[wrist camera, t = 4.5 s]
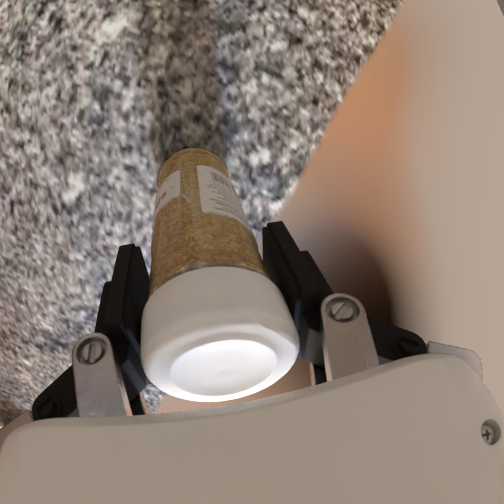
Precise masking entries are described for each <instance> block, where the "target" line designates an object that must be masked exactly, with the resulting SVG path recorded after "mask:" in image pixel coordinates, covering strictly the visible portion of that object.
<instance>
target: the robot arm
mask: <svg viewBox="0 0 504 504" xmlns="http://www.w3.org/2000/svg"><path fill="white" fill-rule="evenodd" d="M262 236H263V264H264V266H265V268H266V270H267V273H268V275H269V278H270V280H271V281H272V282H273V283H274V284H275V285H276V286H277V287H278V288H279V290H280V291H281V293H282V295H283V296H284V299H285V301H286V304H287V306H288V308H289V311H290V313H291V316H292V319H293V321H294V324H295V327H296V330H297V333H298V336H299V341H300V347H299V352H298V356H297V358H296V359H300V358H303V360H305V361H307V362H310V373H311V383H312V386H311V387H307V388H303V389H299V390H295V391H291V392H287V393H283V394H279V395H274V396H270V397H265V398H260V399H256V400H251V401H246V402H240V403H235V404H229V405H223V406H217V407H210V408H204V409H197V410H188V411H180V412H172V413H161V414H149V412H148V409H147V406H146V402H145V399H144V396H143V393H142V390H143V389H144V388H145V387H146V385H147V384H153V383H152V382H151V381H150V380H149V379H148V377H147V376H146V374H145V372H144V370H143V367H142V362H141V320H142V314H143V310H144V307H145V305H146V303H147V302H148V298H149V291H150V278H149V275H148V272H147V268H146V265H145V262H144V259H143V255H142V252H141V249H140V247H139V246H138V247H135V245H134V244H128V245H122V246H120V247H119V250H118V254H117V258H116V263H115V267H114V271H113V276H112V281H109V282H106V283H105V284H104V287H103V292H102V296H101V301H100V306H99V311H98V316H97V321H96V327H95V332H94V333H91V334H88V335H85V336H83V337H82V338H81V339H79V340H78V341H77V343H76V344H75V346H74V348H73V350H72V364H73V365H71V366H70V367H69V368H68V369H67V370H66V371H65V372H64V373H63V374H61V375H60V376H59V377H58V378H57V379H56V380H55V381H54V382H53V383H52V384H51V385H49V386H48V387H47V388H46V389H45V390H44V391H43V392H42V393H41V394H40V395H39V396H38V397H37V398H36V399H35V401H34V403H33V406H32V411H31V412H29V411H28V410H26V411H25V412H24V413H22V414H21V415H19V416H18V417H17V418H15V419H14V420H12V421H11V422H10V423H8V424H7V425H5V426H4V427H3V428H1V429H0V504H504V415H503V413H502V411H501V410H500V408H499V406H498V404H497V403H496V401H495V399H494V398H493V396H492V394H491V393H490V391H489V390H488V388H487V387H486V385H485V384H484V382H483V375H482V363H481V359H480V358H479V356H478V355H477V354H476V353H475V352H474V351H472V350H469V349H465V348H460V347H455V346H451V345H445V344H441V343H436V342H432V341H429V342H428V344H426V343H424V341H423V340H422V338H420V337H419V336H418V335H417V334H415V333H413V332H410V331H408V330H405V329H402V328H399V327H397V326H394V325H391V324H388V323H385V322H383V321H380V320H377V319H374V318H371V317H369V316H366V314H365V310H364V307H363V305H362V303H361V302H360V301H359V300H358V299H357V298H355V297H353V296H352V295H348V294H344V293H336V294H334V293H333V292H332V290H331V288H330V286H329V285H328V283H327V281H326V280H325V278H324V276H323V275H322V273H321V271H320V270H319V268H318V266H317V265H316V263H315V262H314V260H313V258H312V257H311V255H310V254H309V252H308V251H300V250H299V249H298V247H297V245H296V243H295V242H294V240H293V238H292V237H291V235H290V233H289V232H288V230H287V228H286V227H285V225H284V223H283V222H282V221H278V222H271V223H268V224H267V227H263V229H262Z"/></svg>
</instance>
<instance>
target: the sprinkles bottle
mask: <svg viewBox="0 0 504 504" xmlns="http://www.w3.org/2000/svg"><path fill="white" fill-rule="evenodd" d="M157 186H158V193H157V196H156V203H155V213H154V222H153V232H152V242H151V258H152V260H151V272H150V291H149V298H148V302H147V303H146V305H145V307H144V310H143V314H142V320H141V362H142V367H143V370H144V372H145V374H146V376H147V377H148V379H149V380H150V381H151V382H152V383H153V384H154V385H155V386H156V387H158V388H159V389H160V390H162V391H164V392H166V393H168V394H170V395H172V396H175V397H179V398H182V399H186V400H192V401H203V402H215V401H225V400H231V399H236V398H240V397H244V396H247V395H250V394H253V393H255V392H258V391H260V390H262V389H264V388H266V387H268V386H270V385H271V384H273V383H274V382H276V381H277V380H279V379H280V378H281V377H282V376H283V375H285V374H286V373H287V371H288V370H289V369H290V368H291V367H292V365H293V363H294V362H295V360H296V358H297V356H298V352H299V347H300V341H299V336H298V333H297V330H296V327H295V324H294V321H293V319H292V316H291V313H290V311H289V308H288V306H287V304H286V301H285V299H284V296H283V295H282V293H281V291H280V290H279V288H278V287H277V286H276V285H275V284H274V283H273V282H272V281H271V280H270V278H269V275H268V273H267V270H266V268H265V266H264V264H263V261H262V258H261V256H260V254H259V251H258V245H257V242H256V239H255V236H254V234H253V232H252V229H251V227H250V225H249V222H248V220H247V218H246V215H245V213H244V211H243V208H242V206H241V204H240V201H239V199H238V196H237V194H236V192H235V189H234V187H233V185H232V183H231V182H230V180H229V175H228V171H227V169H226V166H225V165H224V163H223V161H222V160H221V159H220V158H219V157H218V156H216V155H215V154H214V153H212V152H210V151H207V150H204V149H200V148H187V149H183V150H181V151H178V152H177V153H175V154H173V155H172V156H171V157H170V158H168V160H167V161H166V162H165V163H164V164H163V166H162V167H161V170H160V172H159V175H158V181H157Z"/></svg>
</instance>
